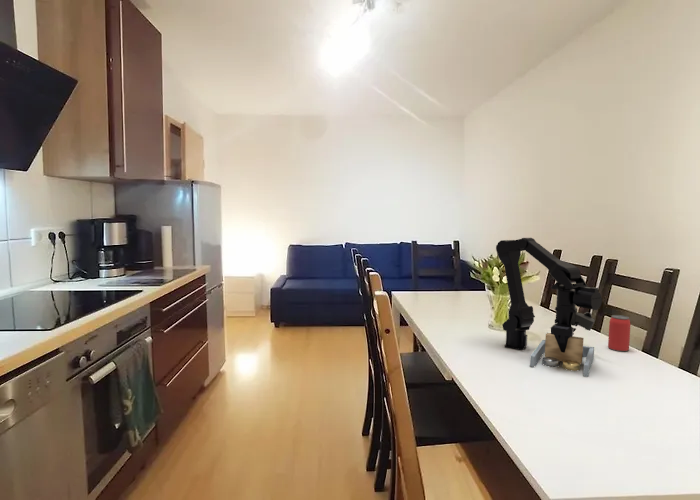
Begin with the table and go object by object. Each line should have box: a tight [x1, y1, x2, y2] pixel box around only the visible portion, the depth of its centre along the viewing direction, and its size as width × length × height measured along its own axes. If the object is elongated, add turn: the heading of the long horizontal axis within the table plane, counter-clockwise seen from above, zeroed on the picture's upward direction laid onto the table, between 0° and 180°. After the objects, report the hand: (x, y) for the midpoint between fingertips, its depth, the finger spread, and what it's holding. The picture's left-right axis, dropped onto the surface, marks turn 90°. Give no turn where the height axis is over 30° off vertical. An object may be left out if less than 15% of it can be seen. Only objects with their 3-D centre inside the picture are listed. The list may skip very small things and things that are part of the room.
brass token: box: [562, 360, 581, 372], centre depth 145 cm, size 5×5×2 cm
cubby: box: [529, 339, 595, 378], centre depth 151 cm, size 16×22×4 cm
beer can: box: [607, 314, 631, 352], centre depth 165 cm, size 7×7×12 cm
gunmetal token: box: [541, 356, 560, 368], centre depth 148 cm, size 5×5×2 cm
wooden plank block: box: [544, 333, 584, 365], centre depth 150 cm, size 11×3×8 cm, turn 58°
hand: (563, 351), depth 150 cm, fingers closed on wooden plank block, 3 cm apart
